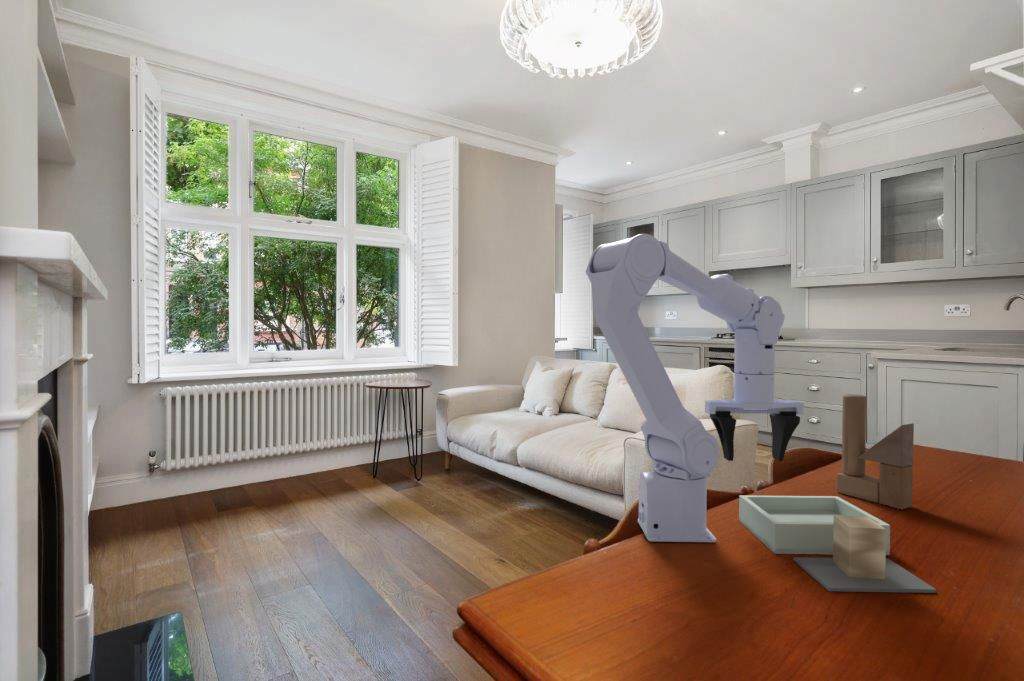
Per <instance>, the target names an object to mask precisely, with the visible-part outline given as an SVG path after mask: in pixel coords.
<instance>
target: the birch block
mask: <svg viewBox="0 0 1024 681" xmlns="http://www.w3.org/2000/svg"><path fill="white" fill-rule="evenodd" d="M886 556H887V555H886V529H885V528H884V527H882V526H881V525H879V524H878V523H876V522H875V521H873V520H872V519H870V518H869V517H858V516H835V515H834V534H833V554H832V558H833V563H834V564H835V565H836V566H838V567H839V568H840V569H841V570H842V571H843V572H844V573H845V574H846V575H847V576H848V577H855V578H872V579H885V562H886V559H887V558H886Z"/></svg>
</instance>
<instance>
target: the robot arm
mask: <svg viewBox="0 0 1024 681" xmlns="http://www.w3.org/2000/svg"><path fill="white" fill-rule="evenodd" d="M587 264H588V265H587V266H586V269H585V274H586V276H587V277H588V279H589V282H590V283H591V297H592V310H593V317H594V319H595V321H596V323H597V326H598V327H599V329H600V331H601V334H602V335H603V337H604V339H605V341H606V343H607V345H608V347H609V349H610V351H611V352H612V354H613V356H614V358H615V361H616V362H617V365H618V366H619V368H620V371H621V372H622V374H623V376H624V378H625V380H626V382H627V384H628V386H629V388H630V390H631V392H632V393H633V396H634V398H635V400H636V402H637V403H638V407H639V408H640V410H641V411H642V413H643V415H644V417H645V419H644V421H643V423H642V424H641V426H640V431H641V432H642V434H643V437H644V447H645V451H646V455H647V456H648V457H649V458H650V459H651V460H652V467H653V468H654V469H655V470H652V471H644V472H640V474H639V478H638V518H637V523H638V524H639V526H640V528H641V529H642V532H643V534H644V536H645V537H646V539H647V540H648V542H653V543H654V542H657V543H658V542H662V543H663V542H668V543H672V542H673V543H675V542H676V543H716V542H717V538H716V537H715V535H714V534H713V533H712V532H711V531H710V530H709V528H708V527H707V502H708V501H707V490H708V489H707V488H708V487H707V486H708V485H707V482H708V481H707V479H708V478H710V477H711V473H712V472H713V471H714V470H715V468H716V466H717V464H718V463H719V459H720V445H719V442H718V440H717V439H716V437H715V436H714V435H713V434H711V433H710V432H709V431H707V430H706V428H705V427H704V424H703V423H702V421H701V420H700V419H699V418H698V417H696V416H695V415H694V414H693V413H691V412H690V411H688V410H687V409H686V408H685V406H684V405H683V403H682V402H681V399H680V398H679V396H678V393H677V391H676V389H675V387H674V385H673V383H672V380H671V379H670V377H669V375H668V373H667V370H666V369H665V367H664V365H663V363H662V360H661V359H660V357H659V355H658V353H657V350H656V348H655V346H654V344H653V342H652V340H651V338H650V336H649V333H648V331H647V329H646V327H645V326H644V324H643V320H641V317H640V316H639V312H638V311H639V309H640V305H641V303H642V302H643V301H644V300H645V298H646V296H647V295H648V294H649V292H650V290H651V289H652V287H653V286H654V284H655V283H656V281H657V280H659V281H661V282H663V283H665V284H667V285H670V286H672V287H675V288H677V289H678V290H681V291H683V292H686V293H687V294H690V295H691V296H695V297H696V299H697V300H696V301H697V304H698V306H699V308H701V309H702V310H703V311H706V312H707V313H709V314H712V315H713V316H716V317H717V318H719V319H721V320H723V321H725V323H726V325H727V327H728V329H729V330H730V331H731V332H733V333H734V359H733V360H734V364H733V367H734V374H733V377H734V378H733V381H734V382H733V383H734V384H733V386H734V387H733V398H731V399H705V401H704V412H705V413H707V414H708V415H709V417H710V420H711V422H712V424H713V425H714V428H715V429H716V430H715V431H716V433H717V435H718V437H719V441H720V444H721V448H722V453H723V459H725V460H726V461H728V462H730V461H731V462H733V461H734V458H735V457H734V456H735V450H734V448H735V447H734V445H735V444H734V443H735V442H734V440H735V431H736V430H735V429H736V426H737V425H736V424H737V422H738V421H737V419H736V418H735V417H733V415H732V414H768V415H769V419H770V425H771V434H772V436H771V437H772V438H771V440H772V442H771V453H772V454H771V455H772V459H774V460H776V461H778V462H783V461H784V458H785V454H786V450H787V447H788V445H789V442H790V440H791V437H792V436H793V434H794V432H795V430H796V429H797V427H798V426H799V425H800V423H801V417H800V416H799V415H804V413H805V412H804V410H805V409H804V408H805V406H804V404H805V402H803V401H800V400H789V399H788V400H786V399H775V356H776V355H775V351H776V350H775V347H776V344H777V343H778V341H779V334H780V329H781V328H782V327H783V325H784V321H785V317H786V316H785V315H786V314H784V313H783V309H782V308H783V307H782V305H781V304H780V302H778V301H777V300H776V299H775V298H774V297H772V296H768V295H764V296H762V295H761V296H759V295H758V294H757V293H755V290H754V289H752V288H750V287H747V288H746V287H745V286H742V284H739V283H737V282H736V281H734V280H733V279H734V276H732V275H731V274H729V273H722V274H715V275H712V276H710V275H708V274H706V273H705V272H703V271H701V269H699V268H697V267H695V266H694V265H693V264H691V263H689V262H688V261H687V260H685V259H684V258H682V257H680V256H679V255H677V253H675V252H673V251H672V250H670V247H669V245H668V243H667V242H664V241H662V240H658V239H657V238H656V237H655V236H653V235H651V234H648V233H639V234H636V235H634V236H633V237H630V238H625V239H621V240H618V241H614V242H610V243H609V242H608V243H607V242H605V243H603V244H600V245H598V246H597V247H596V248H595V249H594V250H593V252H592V254H591V256H590V259H589V261H588V263H587Z"/></svg>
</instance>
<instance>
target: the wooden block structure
mask: <svg viewBox="0 0 1024 681" xmlns="http://www.w3.org/2000/svg"><path fill="white" fill-rule="evenodd" d="M841 424H842V425H841V428H842V431H841V472H838V473H836V492H837V493H839V494H842V495H846V496H849V497H853V498H857V499H860V498H861V499H862V500H864V499H865V500H864V501H868V500H869V501H868V502H871V501H873V503H875V502H876V503H875V504H879V505H881V504H884V505H888V506H890V507H889V508H892V507H893V509H895V508H897V509H896V510H899V509H901V510H902V511H903V510H905V509H909V508H912V507H913V488H914V487H913V482H914V480H913V478H914V477H913V474H914V466H913V465H914V435H915V434H914V429H915V427H914V426H915V424H914V423H913V422H912V423H905V424H900V426H898V427H897V428H896V429H894V430H893V431H891V432H890V433H889V434H887V436H885V437H883V438H881V440H880V441H878V442H877V443H875V444H874V445H873V446H871V447H870V448H868V449H867V450H866V448H867V447H866V446H867V445H866V441H867V438H866V433H867V396H866V395H863V394H854V393H853V394H851V393H846V394H843V395H842V423H841ZM866 461H870V462H875V463H879V478H878V477H877V476H876V477H875V476H871V475H867V474H866ZM861 499H860V500H861ZM884 505H883V506H884ZM888 506H887V507H888ZM901 510H900V511H901Z"/></svg>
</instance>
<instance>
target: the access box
mask: <svg viewBox="0 0 1024 681" xmlns="http://www.w3.org/2000/svg"><path fill="white" fill-rule="evenodd" d="M738 496H739V498H738V506H739V507H738V521H739V522H740V523H741V524H742V525H743V526H744V527H745V528H746V529H748V531H749V532H750V533H752V535H754V536H755V538H757V539H758V540H759V541H760V542H762V544H764V545H765V546H766V547H767V548H768V549H769V550H770V551H771V552H772V553H773V554H775V555H776V554H778V555H780V554H782V555H783V554H785V555H833V534H834V515H835V516H858V517H869V518H870V519H872V520H873V521H875V522H876V523H878V524H879V525H881V526H882V527H884V528H885V529H886V556H890V552H891V550H890V549H891V544H890V543H891V524H888V523H887V522H885V521H884V520H881V519H880V518H878V517H876V516H874V515H872V514H871V513H869V512H867V511H865V510H863V509H861V508H859V507H858V506H856V505H854V504H852V503H850V502H848V501H847V500H845V499H843V498H842V497H840V496H837V495H835V496H834V495H753V494H751V495H747V494H746V495H744V494H743V495H741V494H740V495H738Z"/></svg>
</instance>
